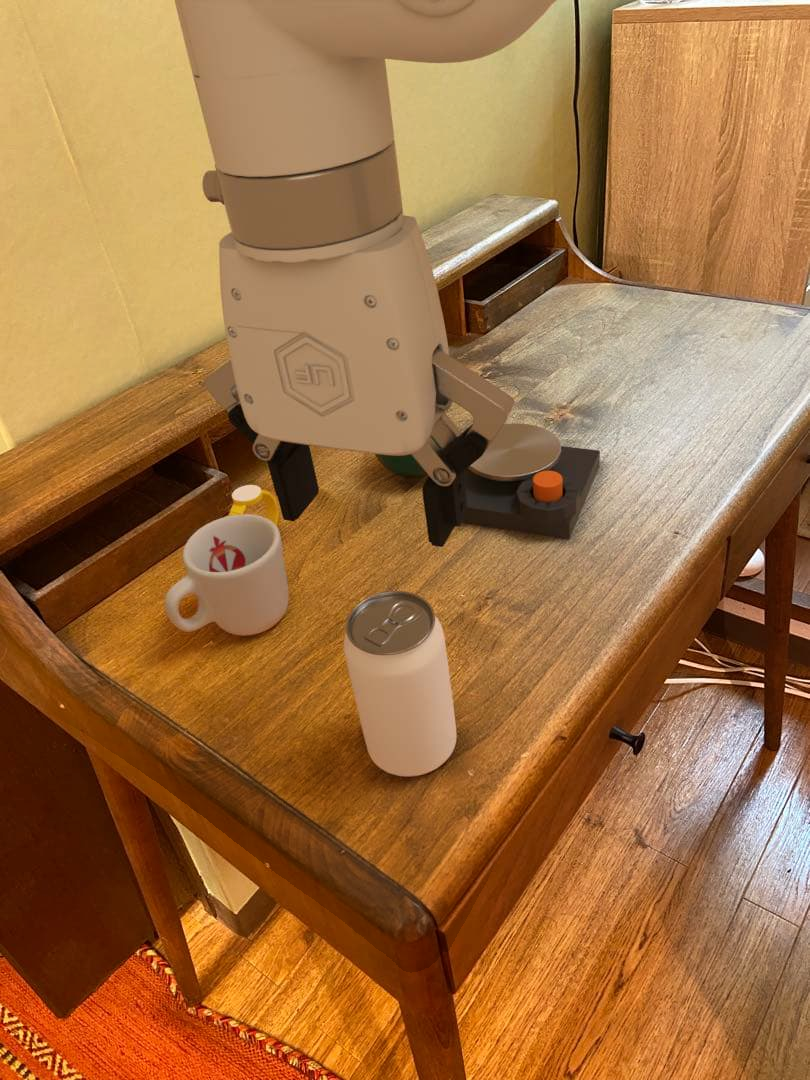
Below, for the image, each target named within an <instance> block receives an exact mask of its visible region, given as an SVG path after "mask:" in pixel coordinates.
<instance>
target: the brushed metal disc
mask: <svg viewBox="0 0 810 1080" xmlns="http://www.w3.org/2000/svg"><path fill="white" fill-rule="evenodd" d="M561 446H562V445H561V441H560V440H559V438H558V437H557V435H555V434H554V433H553V432H551V431H550V430H549V429H547V428H544V427H542V426H538V425H534V424H529V423H519V422H517V423H515V422H514V423H513V422H512V423H504V425H503V426H502V428H501V429H500V431H499V432H498V433H497V435H496V436H495V438H494V439H493V441H492V442H491V443H490V445H489V446H488V448H487V449H486V451H485V452H484V454H483V455H482V456H481V457H480V458H479V459H478V460H476V461H475V462H474V463H473V464H472V465H470V466H469V467H468V468H469V469H470V470H471V471H472V472H473V473H475V474H477V475H479V476H481V477H484V478H487V479H491V480H496V481H520V480H526V479H530V478H533V477H534V476H535V475H536V474H537V473H539V472H542V471H549V470H550V469H552V468H553V467H554V466H555V465H556V464H557V462H558V461H559V459H560V456H561Z"/></svg>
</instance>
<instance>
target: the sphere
mask: <svg viewBox="0 0 810 1080" xmlns="http://www.w3.org/2000/svg"><path fill="white" fill-rule="evenodd" d="M430 437H431V438H432V440H433V441H434V442H435V443H436V445H437V446H438V447H439V448H440V449H441V451H442V450H443V449H442V448H441V447H440V445H439V444H438V443H437V442H436V441H435V439H434V438H433V437H432V436H430ZM374 456H375V457H376V459H377V460H378V462H379V463H380V464H381V466H382V467H383V468H384V469H385V470H386V471H388V472H390V473H391V474H392V475H393V474H394V475H395V476H397V477H401V478H405V479H415V478H421V477H424V476H427V475H428V474H427V473H426V471H425V470H424V469H423V468H422V467H421V465H420V464H419V463H418V462H417V461H416V459H415V458H414V457H413V456H412V455H411V454H409V455H402V456H393V455H381V454H374Z"/></svg>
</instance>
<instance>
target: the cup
mask: <svg viewBox="0 0 810 1080" xmlns="http://www.w3.org/2000/svg"><path fill="white" fill-rule="evenodd" d="M182 562H183V566H184V568H185V569H186V574H185V575H184V576H183V577H182V578H181V579H179V580H178V581H177V582H175V583H174V584H173V585H172V586H171V587H170V588H169V589H168V591H167V593H166V594H165V597H164V610H165V613H166V616H167V618H168V619H169V621H170V622H171V623H172V624H173V625H174V626H175V627H176V628H178V629H179V630H180V631H183V632H187V633H188V632H189V633H190V632H195V631H198V630H199V629H202V628H203V627H205V626H207V625H208V624H210V623H216V625H217V626H218V627H219V628H220V629H222V630H223V631H225V632H227V633H228V634H232V635H235V636H252V635H258V634H260V633H264V632H265V631H267V630H269V629H271V628H272V627H274V626H275V625H277V624H278V623H279V622H280V621H281V620H282V619H283V617H284V616H285V615H286V612H287V610H288V608H289V607H288V606H289V601H290V591H289V585H288V577H287V569H286V564H285V556H284V550H283V544H282V536H281V532H280V530H279V528H278V525H277V526H276V525H275V524H274V523H273V522H272V521H270V520H269V519H267V518H266V516H262V515H258V514H253V513H252V514H250V513H244V514H238V515H231V516H229V515H227V516H223V517H220V518H218V519H215V520H213V521H210V522H208V523H207V524H204V525H203V526H202V527H200V528H198V529H197V530H196V531H195V532H194V533H193V534H192V535H191V536H190V537H189V538H188V540H187V541H186V543H185V545H184V546H183V550H182ZM189 595H196V598H197V600H198V608H197V611H196V612H195V613H194V614H193V615H192V616H191V617H189V618H184V617H182V616H181V614H180V612H179V605H180V603H181V601H182V600H183V599H184V598H185V597H187V596H189Z"/></svg>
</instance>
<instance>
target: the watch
mask: <svg viewBox="0 0 810 1080" xmlns="http://www.w3.org/2000/svg"><path fill="white" fill-rule="evenodd" d="M231 499H232V503H233V504H232V506H231V508H230V510H229V513H228V516H231V515H238V514H245V511H246V510H247V508H248V507H252V506H255V505H257V504H259V503H260V502H261V501H262V500H263V503H264V507H265V518H267V519H269V520H270V521H272V522H273V523H274V524H275V525H276V526H277V527H278V525H279V517H280V516H279V515H280V510H279V506H278V503H277V499H276V497H275V496H274V495H272V493H271V492H270V491H268V490H264V489H262V488H261V487H260V486H259V485H256V484H246V485H242V486H240V487H237V488H236V489H235V490H233V492H232V493H231Z"/></svg>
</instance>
